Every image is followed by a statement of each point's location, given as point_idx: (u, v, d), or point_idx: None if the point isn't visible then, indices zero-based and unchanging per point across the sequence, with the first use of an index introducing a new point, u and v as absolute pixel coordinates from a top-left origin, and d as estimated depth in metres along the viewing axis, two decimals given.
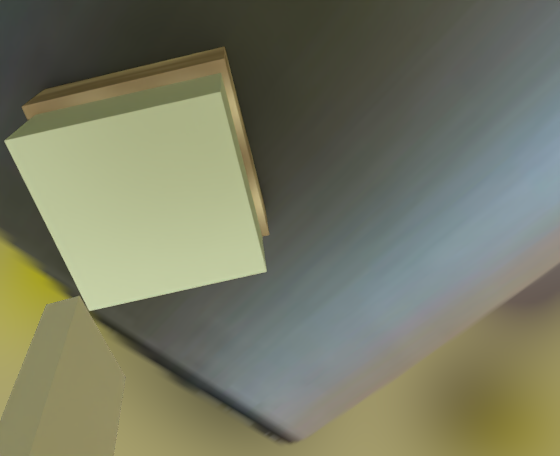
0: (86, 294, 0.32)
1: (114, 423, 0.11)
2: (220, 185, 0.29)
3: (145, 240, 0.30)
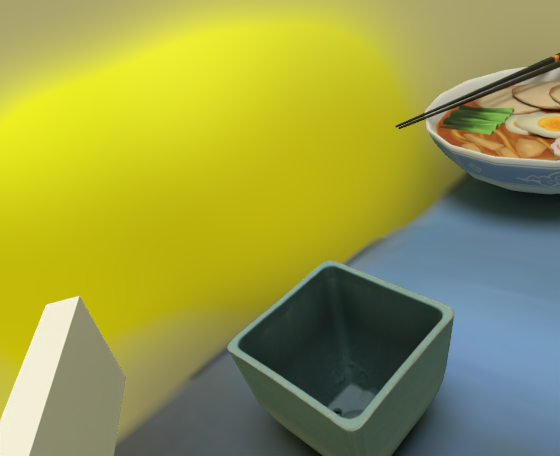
0: None
1: (114, 423, 0.11)
2: None
3: None
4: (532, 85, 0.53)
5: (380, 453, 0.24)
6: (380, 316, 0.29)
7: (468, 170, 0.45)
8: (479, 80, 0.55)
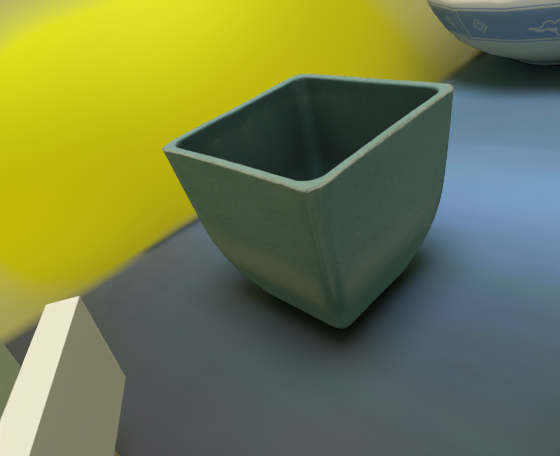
0: None
1: (114, 423, 0.11)
2: None
3: None
4: None
5: (356, 260, 0.18)
6: (361, 131, 0.23)
7: (472, 34, 0.39)
8: None
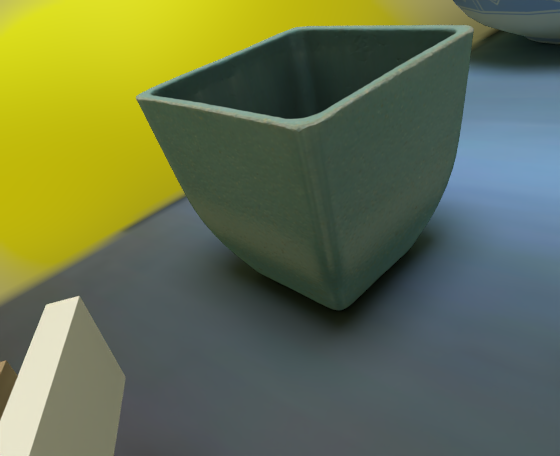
0: None
1: (114, 423, 0.11)
2: None
3: None
4: None
5: (357, 224, 0.15)
6: None
7: (484, 8, 0.36)
8: None
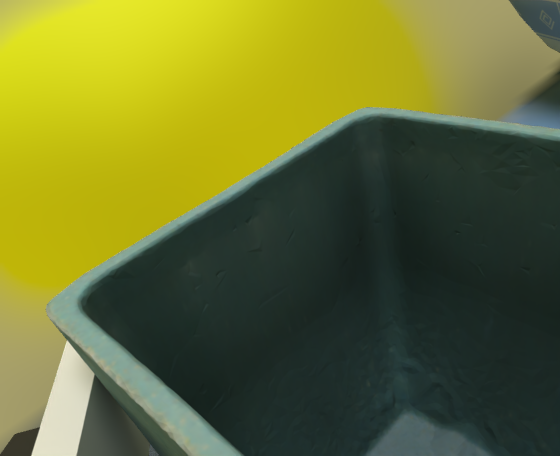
0: None
1: None
2: None
3: None
4: None
5: None
6: (505, 237, 0.11)
7: None
8: None
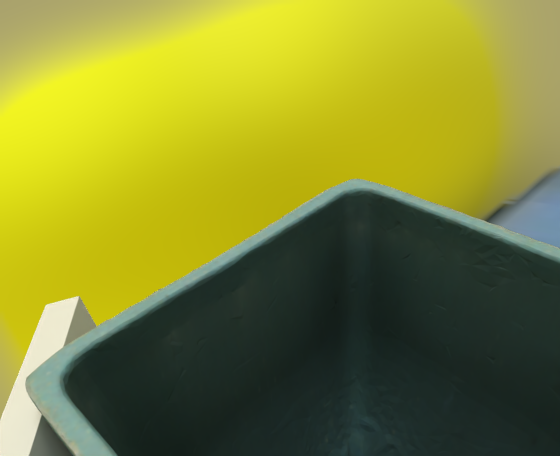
0: None
1: None
2: None
3: None
4: None
5: None
6: (476, 326, 0.11)
7: None
8: None
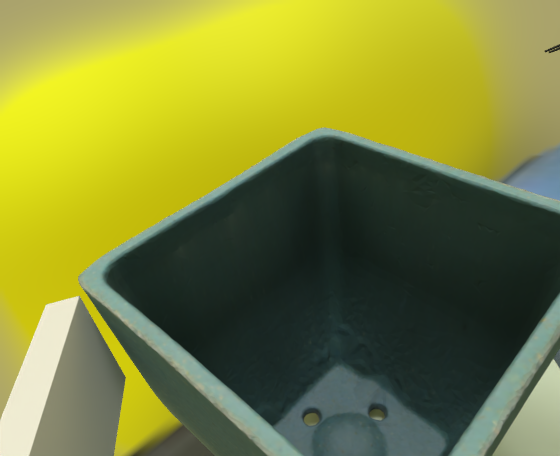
0: None
1: (114, 423, 0.11)
2: None
3: None
4: None
5: None
6: (418, 240, 0.15)
7: None
8: None
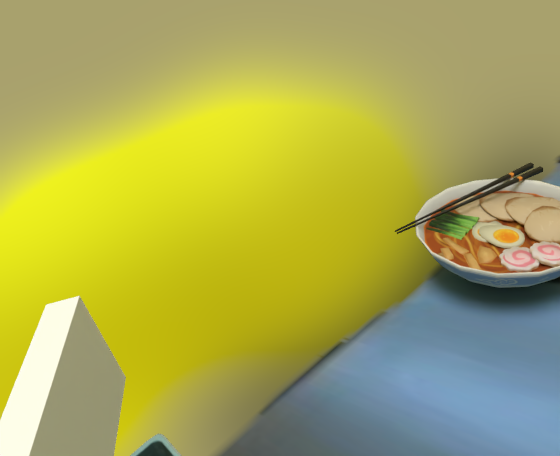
0: None
1: (114, 423, 0.11)
2: None
3: None
4: (494, 196, 0.73)
5: None
6: None
7: (444, 267, 0.65)
8: (456, 188, 0.75)
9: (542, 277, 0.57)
